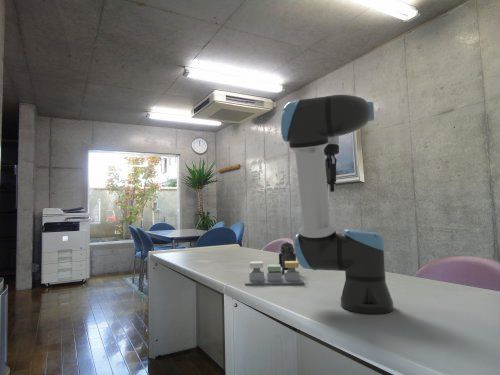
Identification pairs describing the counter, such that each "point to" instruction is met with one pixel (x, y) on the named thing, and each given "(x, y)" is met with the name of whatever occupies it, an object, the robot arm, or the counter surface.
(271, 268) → the button green
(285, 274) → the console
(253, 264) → the button white
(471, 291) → the counter surface
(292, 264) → the button ochre
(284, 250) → the toy
